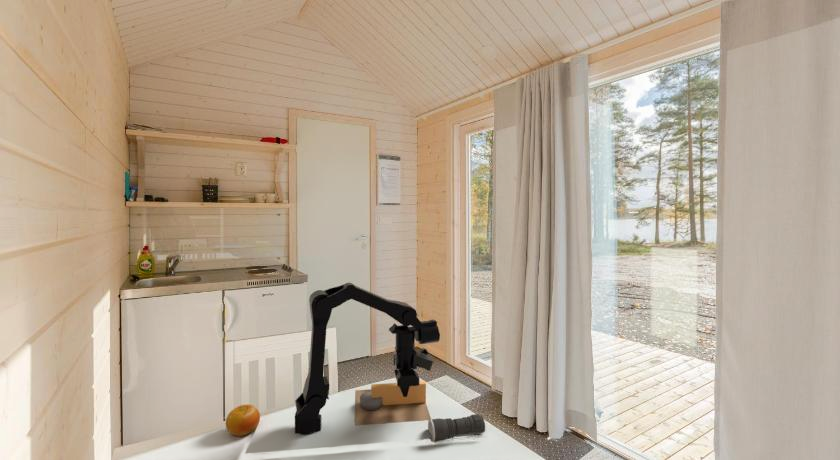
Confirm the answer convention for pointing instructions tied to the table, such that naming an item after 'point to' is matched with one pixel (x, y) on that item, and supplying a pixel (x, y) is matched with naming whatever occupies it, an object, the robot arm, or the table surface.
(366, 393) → the orange and grey block
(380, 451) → the table surface
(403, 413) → the board
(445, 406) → the table surface
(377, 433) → the table surface
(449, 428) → the flashlight
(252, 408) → the fruit
